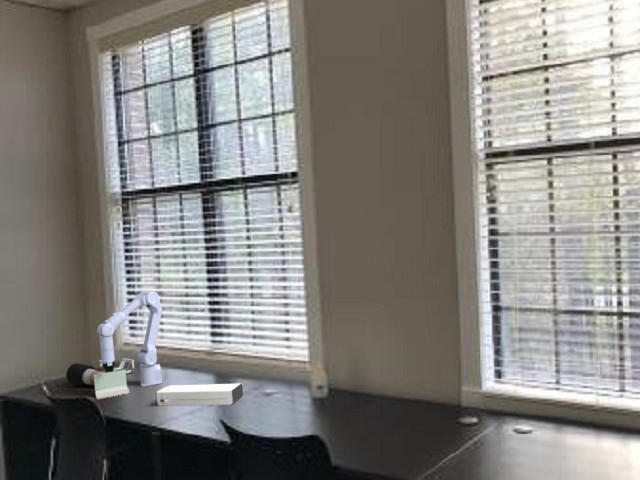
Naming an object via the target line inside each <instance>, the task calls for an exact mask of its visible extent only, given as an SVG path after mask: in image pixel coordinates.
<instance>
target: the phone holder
mask: <svg viewBox="0 0 640 480" xmlns="http://www.w3.org/2000/svg"><path fill="white" fill-rule="evenodd" d="M102 364H106V363H104V362H99V367H101V368H103V369H102V370H100V371H101V372H104V373H106V372H105V369H104V367H103V366H102ZM120 370H125V371H126V374H129V373H132V374H135V373H134V372H136V373H137V372H138V369H137V368H136V367H135V360H134V359H131V358H124V357H123V358H121V361H120V364H119V367H117V366H116V365H115V366H114V369H113V372H114V371H120Z"/></svg>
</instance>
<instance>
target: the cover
mask: <svg viewBox="0 0 640 480" xmlns="http://www.w3.org/2000/svg"><path fill="white" fill-rule="evenodd" d="M94 384H95V385H94V392H95V391H96V390H102V389H108V388H114V387H120V386H126V385H127V386H128V384H127V373H126V371H125V370H120V371H114V372H108V373H102V374H95V375H94Z"/></svg>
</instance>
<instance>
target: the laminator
mask: <svg viewBox="0 0 640 480" xmlns="http://www.w3.org/2000/svg"><path fill="white" fill-rule="evenodd" d="M155 393H156V394H155V396H156V404H157V406H158V407H165V406H166V407H168V406H169V407H170V406H171V407H172V406H173V407H174V406H179V407H180V406H225V405H229V406H230V405H231V406H232V405H233V404H234V403H235V402H238V400H239V399H241V398H242V397H243V396H244V395H243V394H244V392H243V384H242V383H212V384H209V383H207V384H175V385H173V384H172V385H171V384H169V385H166V386H165V387H163V388H160V389H158V391H156V392H155Z"/></svg>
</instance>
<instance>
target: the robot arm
mask: <svg viewBox="0 0 640 480" xmlns="http://www.w3.org/2000/svg"><path fill="white" fill-rule="evenodd" d="M140 307H146V308H147V310H148V311H149V315H148V320H147V321H148V322H147V326H146V331H145V336H144V341H143V345H141V347H140V350H139V352H138V353H137V356H136V359H137V362H138V363H139V370H140V381H141V382H139V385H140V386H141V387H149V386H154V385H160V384H161V385H162V384H163V377H162V368H161V364H160V363H157V361H158V356H157V353H158V352H157V348H156V343H157V338H158V333H159V328H160V323H161V317H162V313H163V307H162V303H161V297H160V295H159V294H158V293H157V292H155V291H147V290H143V291H141V292H140V293H139V294H138V295H136V296H135V298H133V299H132V301H130V302H129V303H128V304H126V306H125V307H124V308H123V309H122V310H121V311H116V312H113V313H112V314H111V316H110V317H109V318H108V319H105V320H104V322H103V323H100V324H99V325H98V327H97V330H96V332H97V334H98V335H99V347H100V356H101V357H100V358H101V359H98V361H99V363H101V362H104V363H106V364H102V366H103V367H104V371H105V372H106V373H108V372H113V369H114V366H116V362H115V360H116V356H115V348H114V338H113V335H114V332H115V330H117V329H118V328H119V327H120V326H122V325H123V323H124V322H125V321H126V317H127V316H129V315H130V314H131V313H133V312H134V311H135V310H137V309H138V308H140ZM103 367H102V368H103Z"/></svg>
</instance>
